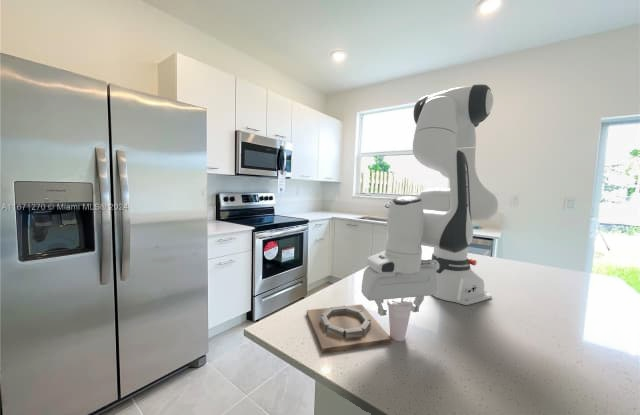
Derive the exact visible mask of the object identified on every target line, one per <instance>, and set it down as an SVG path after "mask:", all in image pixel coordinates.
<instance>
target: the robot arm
mask: <svg viewBox="0 0 640 415" xmlns="http://www.w3.org/2000/svg"><path fill="white" fill-rule="evenodd" d="M491 90H492V89H491V88H490V87H489V85H487V84H479V83H477V84H473V85H471V86H470V85H469V86H460V87H454V88H450V89H448V90H443V91H439V92H437V93H433V94H431V95H430V94H426V95H425V96H423V97H421V98H419V99H417V102H416V103H415V104H414V107H413V121H414V124H415V126H416V127H415V130H414V134H413V135H414V136H413V139H412V140H413V141H412V153H413V156H414V158H415V159H416V160H417V162H419V163H420V164H422V165H423V166H425V167H427V168H428V169H431V170H434V171H437V172H440V175H442V176H443V177H444V178H447V179H448V181H449V188H448V187H433V188H425V189H423V190H422V191H421V192H420V193H419V195H418V197H417V196H411V195H410V196H409V195H408V196H398V197H395V198H393V199H392V200H391V202H390V204H389V209H388V214H387V219H386V220H387V221H386V232H385V233H386V234H387V235H386V236H387V237H386V238H387V239H386V243H385V245H384V250H382V251H380V252H378V253H375V254H373V255H370V256H368V257H367V258H366V262H365V264H366V266H367V267H366V268H365V270H364V271H363V275H362V280H361V281H362V282H361V293H362V296H364V298H366V300H368V301H370V302H372V301H374V302H375V304H376V305H377V314H378V315H379V316H380V317H382V316H387V311H388V309H387V308H386V307H385V306H384V305H383V304H384V300H388V299H397V298H406V299H408V298H414V300H413V302H412V303H413V308H412V310H411V312H412V313H418V312H420V306H421V305H422V304H423V302H424V299H425V297H429V296H433V297H434V298H437V299H440V300H442V301H443V300H444V301H447V302H452V303H457V304H461V305H465V306H469V305H472V304H476V303H479V302H484V301H486V300H490V299H492V294H491V293H490V292H488V291H487V290H485V281H484V279H483V278H482V277H481V276H480V275H479V274H478V273H476V272H475V271H474V270H473V269H472V268H471V266H476V265H477V264H478V260H476V259H473V258H468V252H469V247H470V246H471V243H472V241H473V238H474V228H473V222H482V221H483V222H484V221H489V220H491V219H492V218H494V217H495V215H496V214H497V213H498V210H499V201H498V198H497V196H496V195H495V194H494V192H491V190H489V189H488V188H486V187H485V186H484V185H483V183H482V182H481V180H480V179H479V177H478V174H477V171H476V170H477V169H476V146H477V145H476V144H477V142H476V141H477V140H476V138H477V137H476V134H477V133H476V128H477V127H478V126H479V125H480V123H482V122H484V121H485V120H486V119H487V118H488V117H489V115H490V114H491V111H492V109H493V105H494V96H493V93H492V91H491ZM422 246H428V247H431V248H433V253H432V254H431V259H429V258H428V259H422V254H423V249H422V248H423V247H422Z"/></svg>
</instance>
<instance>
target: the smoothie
mask: <svg viewBox="0 0 640 415" xmlns="http://www.w3.org/2000/svg"><path fill="white" fill-rule="evenodd" d="M386 300H387V301H386V305H387V307H388V309H387V310H388V321H389V322H388V324H389V336H390V337H391V339H392V340H394V341H395V342H404V341H405V339H406V335H407V330H408V327H409V321H410V315H411V312H412V311H411V310H412V308H413V302H412V301H411V300H410V299H408V298H397V299H386Z"/></svg>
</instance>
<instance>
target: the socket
mask: <svg viewBox="0 0 640 415" xmlns="http://www.w3.org/2000/svg"><path fill="white" fill-rule="evenodd" d="M371 314H372V313H370V312H369V311H368V310H367V309H366V308H365V306H364V305H363V304H355V305H354V304H352V305H339V306H330V307H326V308H325V307H324V308H316V309H315V308H313V309H307V310H306V316H307V318H308V321H309V323H310V325H311V329H312V331H313V334H314V336H315V338H316V340H317V343H318V345H319V348H320V350H321V353H322V354H327V353H333V352H334V353H335V352H340V351H347V350H353V349H361V348H368V347H374V346H380V345H381V346H382V345H388V344H392V340H393V339H392V338H391V337H390V334H388V333H387V331H386V330H385V329H384V328H383V327H382V326H381V325H380V323H379V322H378V321H377V320H376V319H375V317H373V315H371Z"/></svg>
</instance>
